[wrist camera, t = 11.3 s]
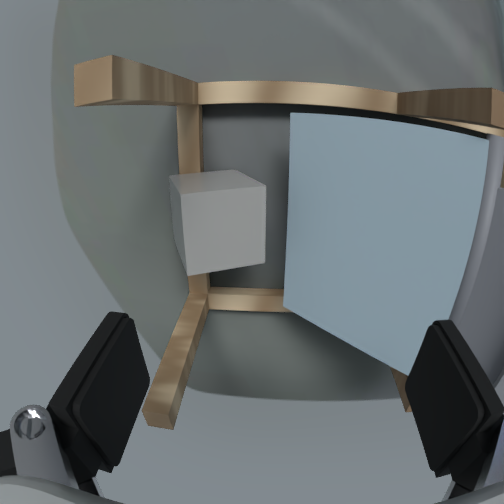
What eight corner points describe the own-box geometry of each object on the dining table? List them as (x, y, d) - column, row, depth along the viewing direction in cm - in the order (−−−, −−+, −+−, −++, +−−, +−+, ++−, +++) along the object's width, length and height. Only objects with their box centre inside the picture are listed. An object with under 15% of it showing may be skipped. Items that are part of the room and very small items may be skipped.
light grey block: (180, 194, 17) (168, 175, 22) (187, 276, 19) (174, 239, 24) (266, 186, 18) (234, 169, 23) (264, 262, 20) (236, 231, 25)
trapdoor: (627, 189, 6) (657, 204, 3) (539, 401, 12) (527, 455, 9) (327, 111, 20) (278, 107, 17) (314, 291, 26) (272, 314, 23)
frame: (515, 125, 19) (628, 159, 6) (478, 301, 27) (544, 391, 14) (181, 86, 21) (74, 64, 8) (194, 300, 29) (148, 425, 16)
